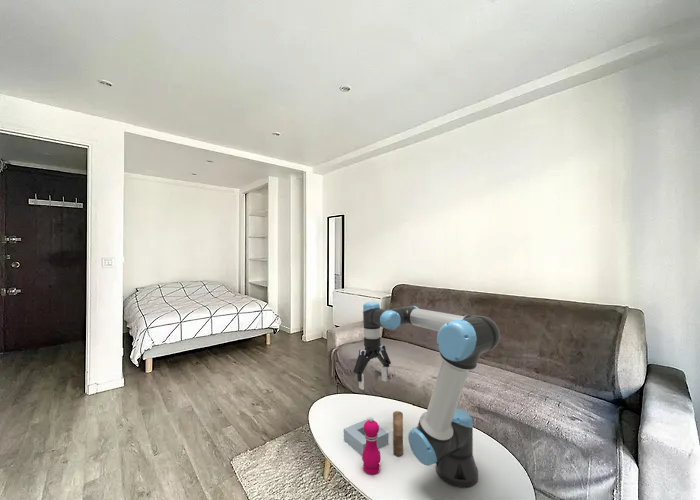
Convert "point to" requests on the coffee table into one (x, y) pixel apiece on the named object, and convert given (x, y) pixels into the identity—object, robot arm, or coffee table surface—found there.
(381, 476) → the coffee table surface
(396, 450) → the dowel
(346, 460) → the coffee table surface
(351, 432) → the bore block
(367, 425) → the pepper mill
